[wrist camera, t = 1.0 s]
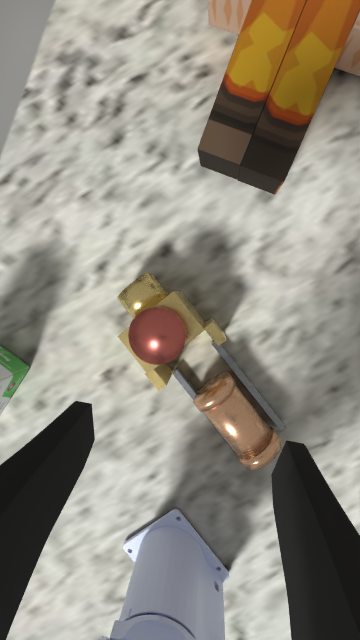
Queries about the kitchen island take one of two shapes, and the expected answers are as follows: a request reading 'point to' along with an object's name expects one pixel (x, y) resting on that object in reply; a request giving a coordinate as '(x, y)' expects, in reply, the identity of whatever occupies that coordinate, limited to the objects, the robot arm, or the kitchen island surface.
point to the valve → (161, 326)
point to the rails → (241, 376)
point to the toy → (274, 82)
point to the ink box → (10, 375)
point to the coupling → (238, 422)
